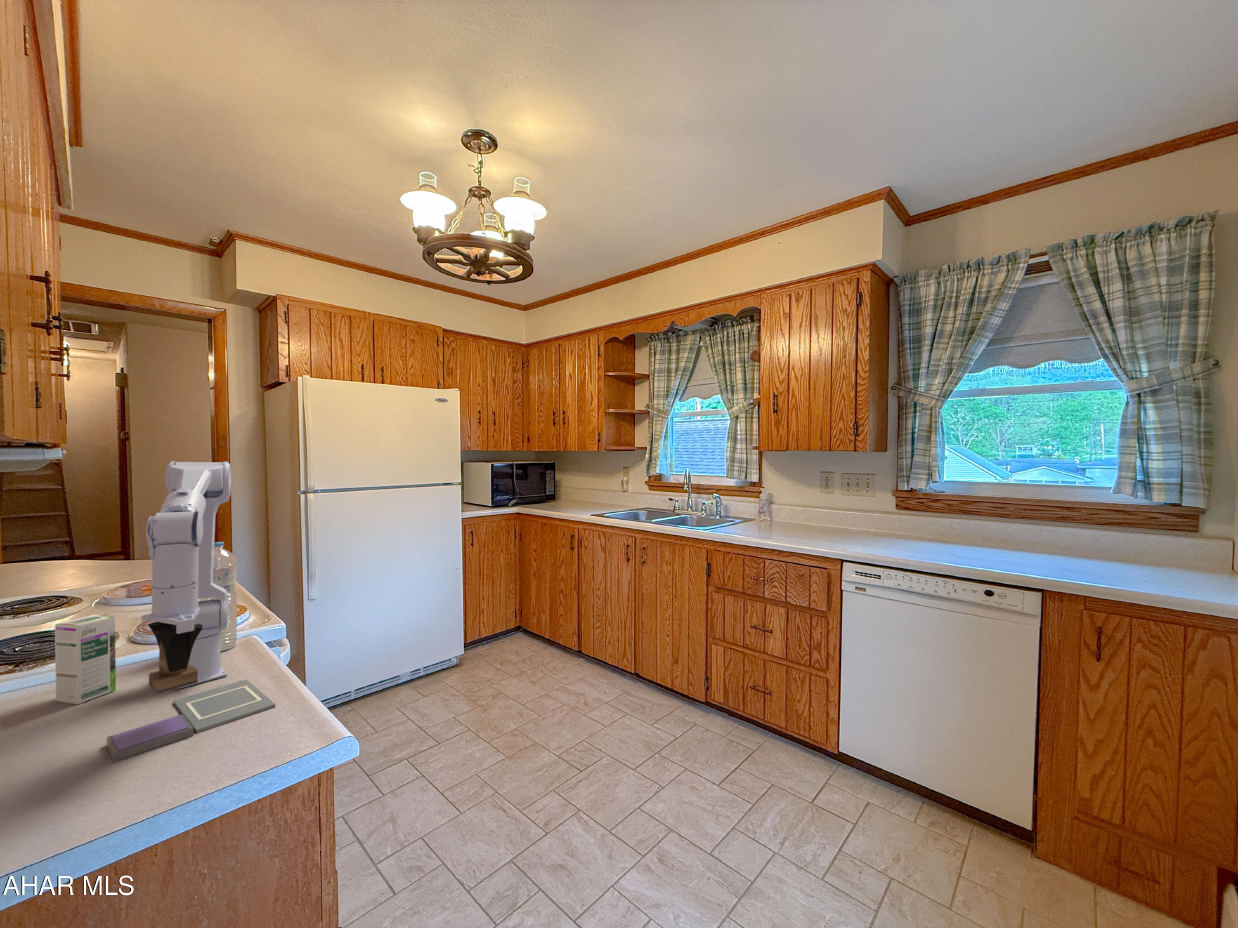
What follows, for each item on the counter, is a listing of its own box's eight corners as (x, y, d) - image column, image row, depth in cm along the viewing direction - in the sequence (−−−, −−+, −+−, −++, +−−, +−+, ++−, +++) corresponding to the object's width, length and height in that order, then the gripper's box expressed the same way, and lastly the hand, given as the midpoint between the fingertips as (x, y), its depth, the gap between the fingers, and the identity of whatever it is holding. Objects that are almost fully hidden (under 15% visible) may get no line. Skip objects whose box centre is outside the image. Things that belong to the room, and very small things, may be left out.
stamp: (148, 684, 80) (149, 642, 80) (188, 674, 84) (188, 633, 84) (157, 693, 78) (157, 649, 77) (197, 682, 82) (198, 640, 82)
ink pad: (106, 744, 76) (106, 735, 76) (182, 720, 83) (182, 712, 83) (113, 761, 72) (113, 752, 72) (193, 735, 79) (193, 726, 79)
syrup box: (78, 705, 88) (78, 624, 88) (53, 701, 90) (54, 622, 90) (116, 690, 94) (116, 615, 94) (92, 687, 95) (93, 613, 95)
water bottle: (196, 649, 115) (196, 542, 115) (232, 641, 120) (233, 539, 120) (202, 656, 111) (203, 546, 111) (239, 648, 116) (240, 542, 116)
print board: (173, 702, 90) (173, 699, 90) (246, 681, 98) (246, 678, 98) (196, 732, 80) (196, 729, 80) (275, 706, 89) (275, 703, 89)
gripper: (134, 581, 82) (133, 662, 82) (151, 597, 73) (150, 687, 74) (189, 574, 88) (188, 649, 88) (211, 588, 79) (210, 672, 79)
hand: (175, 666), depth 81 cm, fingers closed on stamp, 3 cm apart
